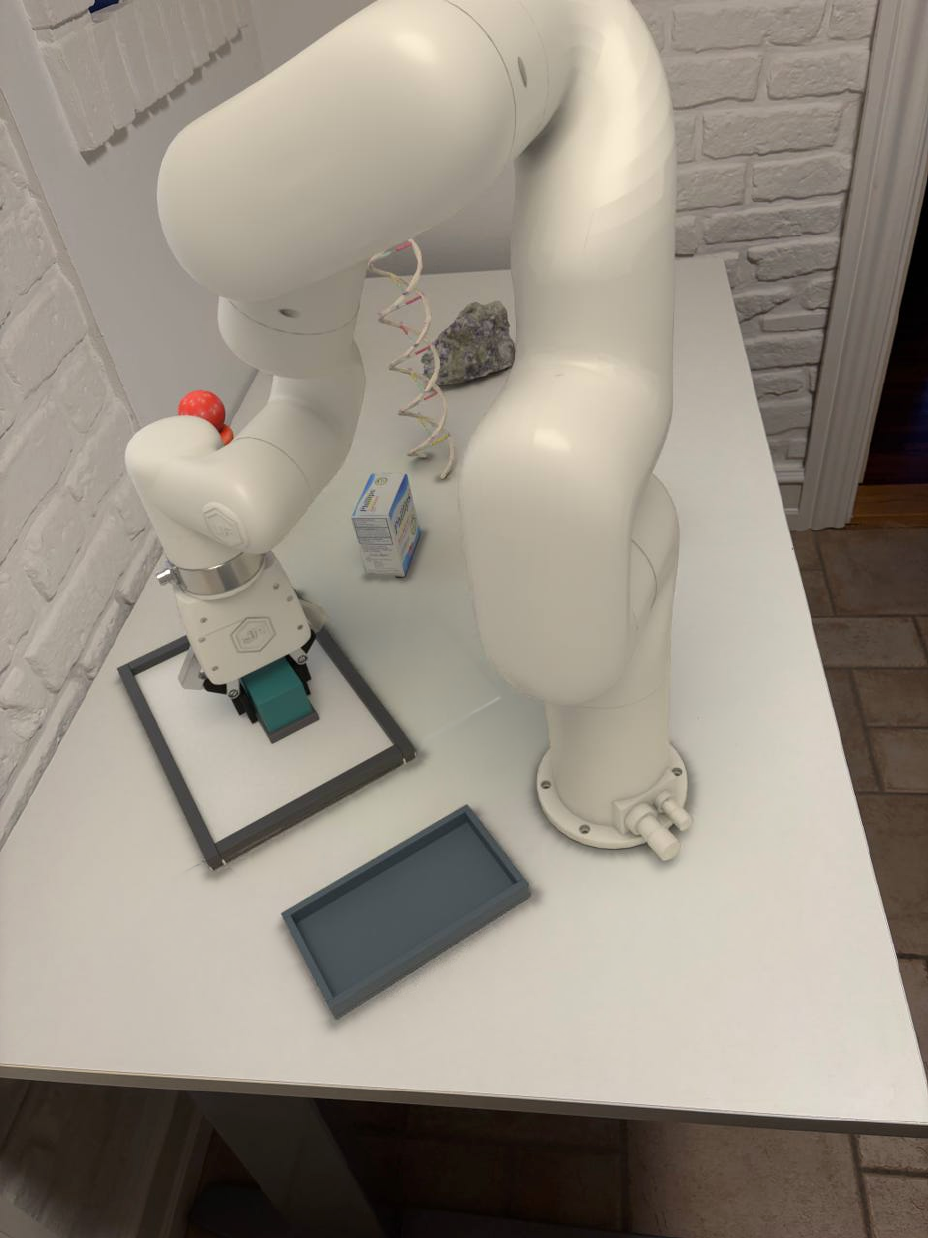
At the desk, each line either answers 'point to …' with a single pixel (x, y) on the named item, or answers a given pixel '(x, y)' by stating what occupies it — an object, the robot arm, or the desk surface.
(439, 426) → the dna model
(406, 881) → the tray
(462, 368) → the mineral rock
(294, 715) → the eraser
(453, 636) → the desk surface
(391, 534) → the medicine box
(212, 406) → the stacking toy
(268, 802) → the whiteboard
